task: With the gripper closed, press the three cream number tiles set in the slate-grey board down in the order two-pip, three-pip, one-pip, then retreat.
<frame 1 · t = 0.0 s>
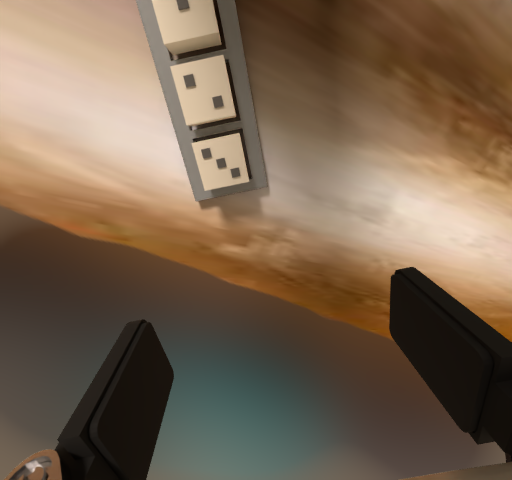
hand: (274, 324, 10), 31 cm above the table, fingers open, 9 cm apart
tile one: (186, 10, 27), point 4 cm above the table, slide at 0.0 cm
tile three: (222, 161, 33), point 4 cm above the table, slide at 0.0 cm
board: (209, 97, 34), on the table
tile two: (206, 94, 30), point 4 cm above the table, slide at 0.0 cm
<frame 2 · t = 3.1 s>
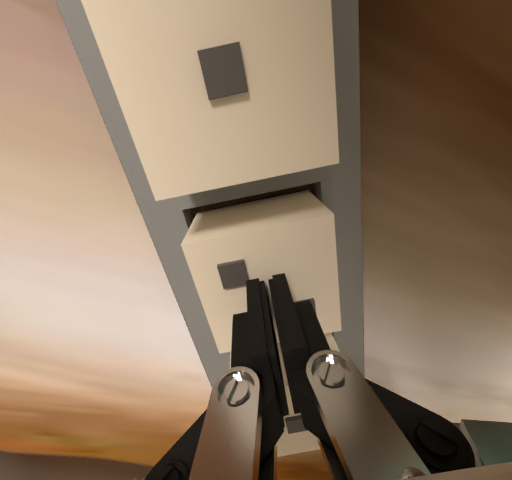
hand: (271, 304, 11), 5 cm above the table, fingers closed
tile one: (227, 84, 8), point 4 cm above the table, slide at 0.0 cm
tile three: (290, 388, 15), point 4 cm above the table, slide at 0.0 cm
board: (261, 245, 15), on the table
tile two: (265, 269, 13), point 3 cm above the table, slide at 0.9 cm, touching gripper
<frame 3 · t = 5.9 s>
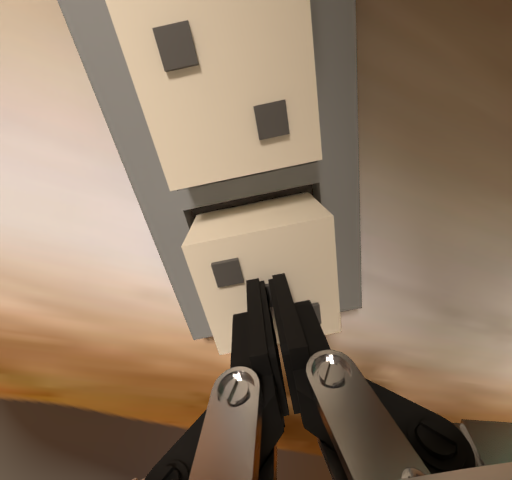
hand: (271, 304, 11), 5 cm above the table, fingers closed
tile three: (265, 271, 13), point 3 cm above the table, slide at 0.7 cm, touching gripper
board: (231, 99, 12), on the table
tile two: (229, 93, 10), point 2 cm above the table, slide at 1.6 cm
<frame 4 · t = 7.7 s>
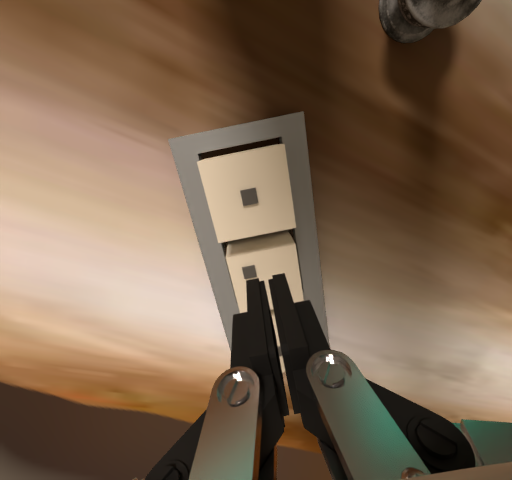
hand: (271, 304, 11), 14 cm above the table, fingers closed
tile one: (248, 192, 20), point 4 cm above the table, slide at 0.0 cm
tile three: (278, 336, 27), point 2 cm above the table, slide at 1.5 cm
board: (263, 261, 26), on the table
tile two: (264, 271, 24), point 2 cm above the table, slide at 1.6 cm
grey turned candlestick: (411, 2, 19), on the table
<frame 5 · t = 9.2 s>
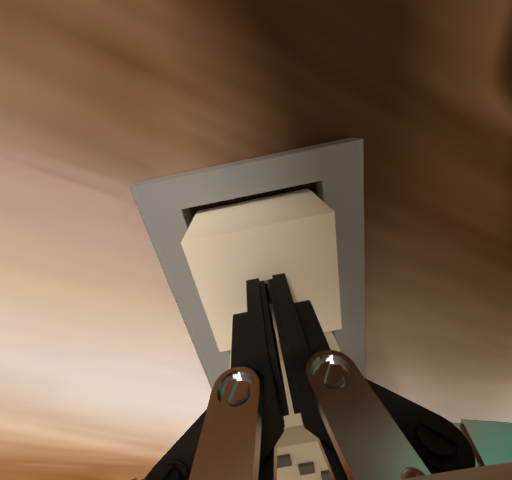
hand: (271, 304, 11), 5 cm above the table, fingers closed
tile one: (265, 267, 13), point 3 cm above the table, slide at 1.1 cm, touching gripper
tile three: (300, 436, 20), point 2 cm above the table, slide at 1.5 cm
board: (281, 341, 18), on the table
tile two: (286, 367, 16), point 2 cm above the table, slide at 1.6 cm
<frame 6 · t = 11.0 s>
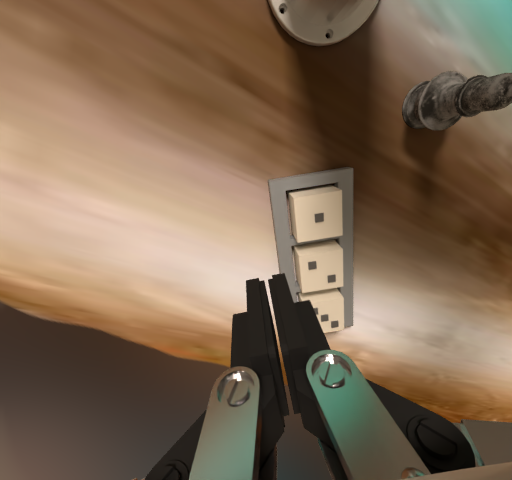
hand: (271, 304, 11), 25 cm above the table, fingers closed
tile one: (314, 213, 33), point 2 cm above the table, slide at 1.5 cm
tile three: (320, 309, 40), point 2 cm above the table, slide at 1.5 cm
board: (313, 258, 38), on the table
tile two: (317, 265, 37), point 2 cm above the table, slide at 1.6 cm
grey turned candlestick: (421, 105, 31), on the table
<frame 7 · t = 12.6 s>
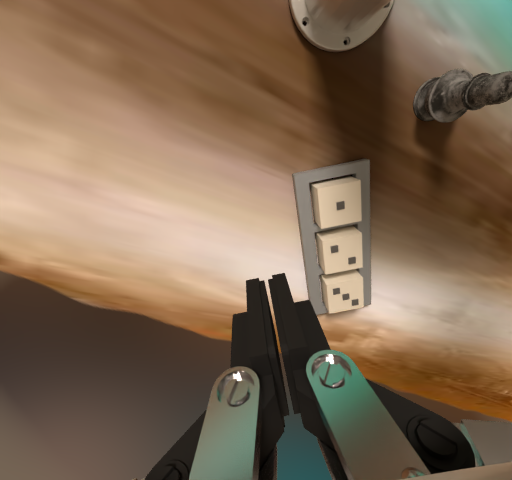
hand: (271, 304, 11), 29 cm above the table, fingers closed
tile one: (335, 202, 37), point 2 cm above the table, slide at 1.5 cm
tile three: (341, 289, 44), point 2 cm above the table, slide at 1.5 cm
board: (334, 244, 42), on the table
tile two: (338, 249, 40), point 2 cm above the table, slide at 1.6 cm
grey turned candlestick: (431, 100, 35), on the table
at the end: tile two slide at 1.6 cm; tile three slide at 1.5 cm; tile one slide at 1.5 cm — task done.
